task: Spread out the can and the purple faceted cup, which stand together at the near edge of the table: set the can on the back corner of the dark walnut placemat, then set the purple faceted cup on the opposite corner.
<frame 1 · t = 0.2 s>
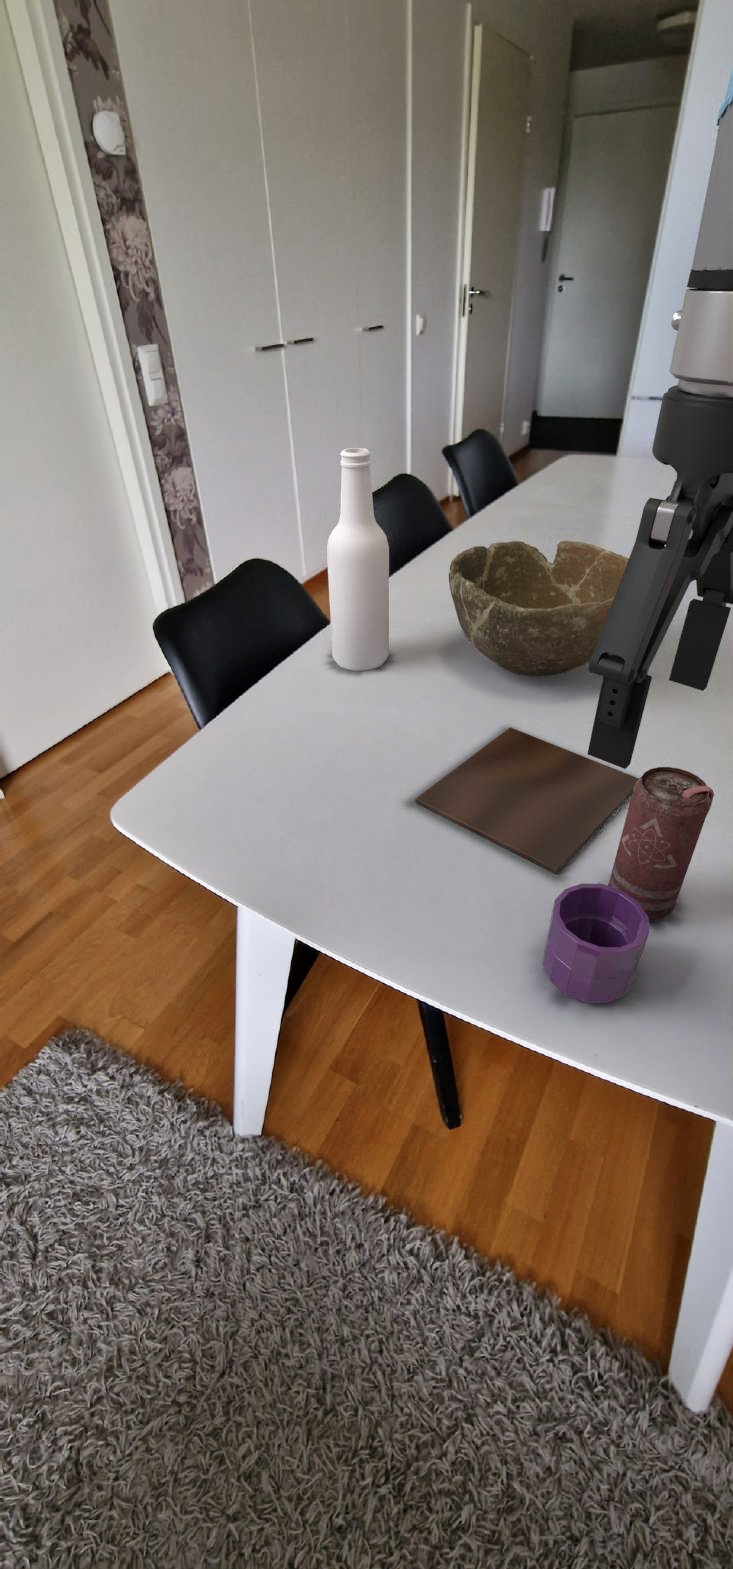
hand: (651, 719, 51), 23 cm above the table, tool pointing down, fingers open, 13 cm apart
can: (640, 902, 68), on the table
alcohol: (360, 660, 110), on the table
purple faceted cup: (586, 971, 61), on the table
bowl: (531, 663, 108), on the table
placemat: (529, 793, 81), on the table
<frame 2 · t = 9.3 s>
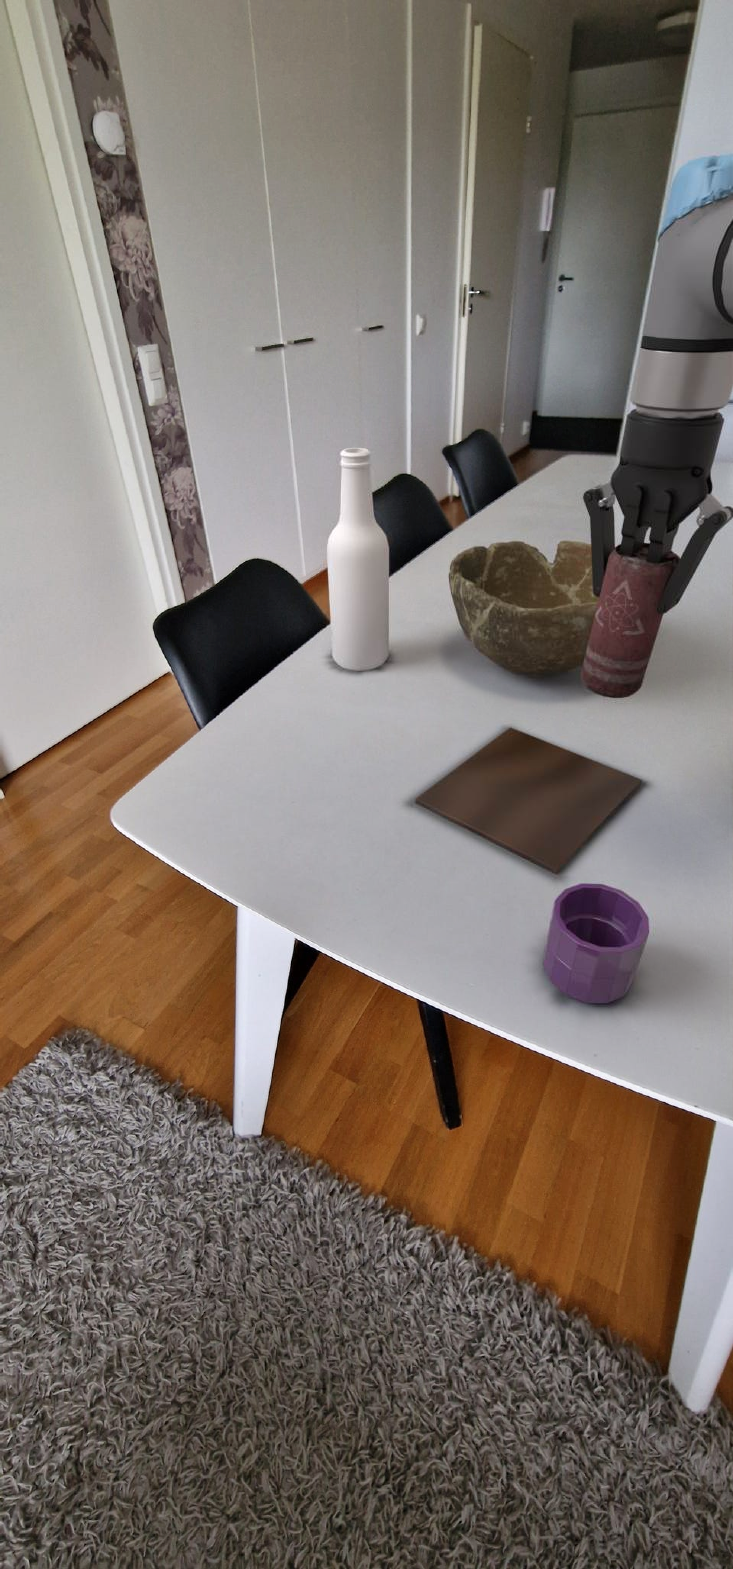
hand: (618, 669, 71), 16 cm above the table, tool pointing down, fingers closed
can: (610, 685, 73), point 14 cm above the table, touching hand
everything else where it was.
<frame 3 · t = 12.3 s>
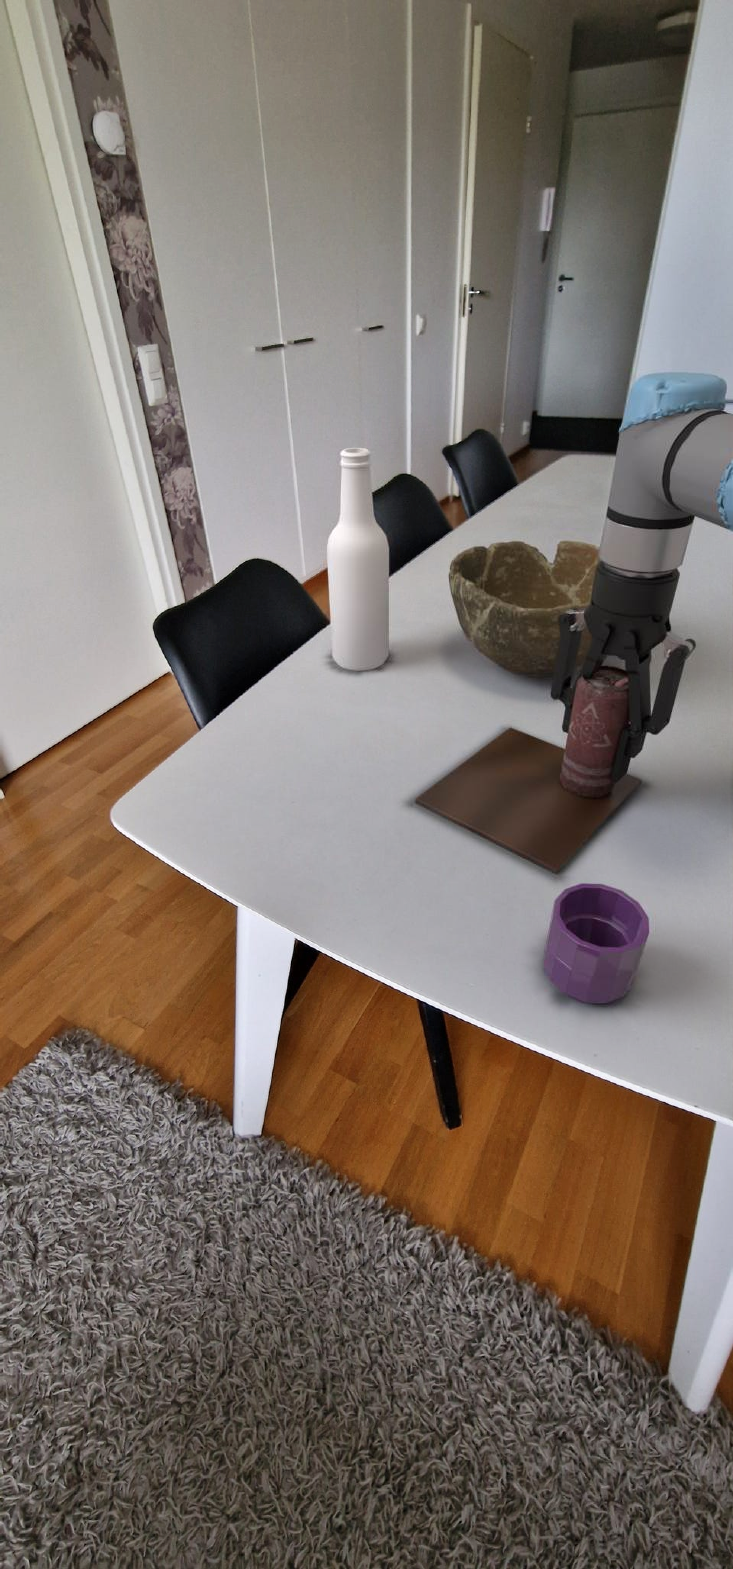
hand: (594, 766, 80), 3 cm above the table, tool pointing down, fingers open, 5 cm apart
can: (587, 785, 82), resting on placemat
everything else where it was.
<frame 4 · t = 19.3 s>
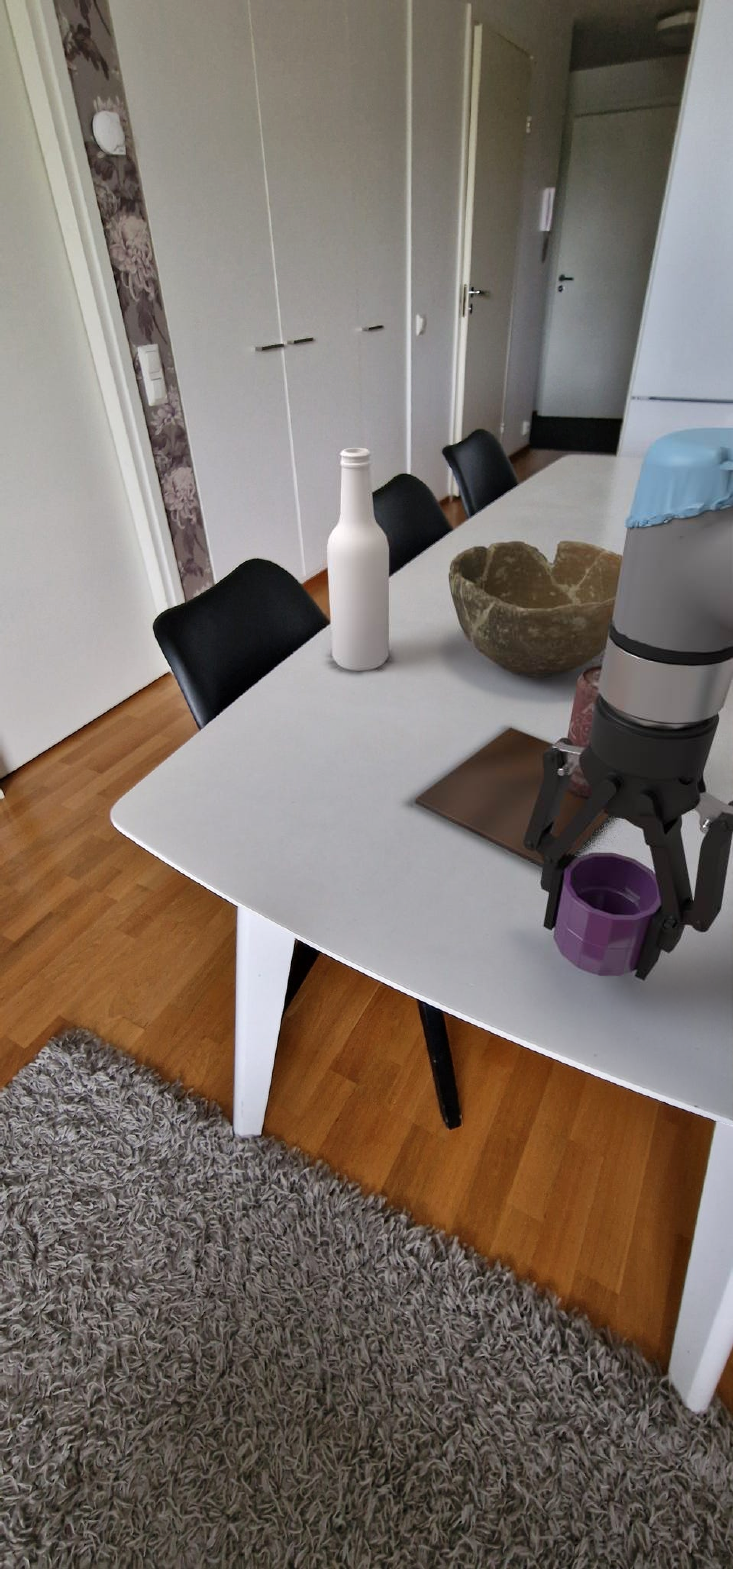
hand: (599, 942, 58), 4 cm above the table, tool pointing down, fingers closed on purple faceted cup, 7 cm apart
purple faceted cup: (598, 945, 58), point 4 cm above the table, touching gripper
everything else where it was.
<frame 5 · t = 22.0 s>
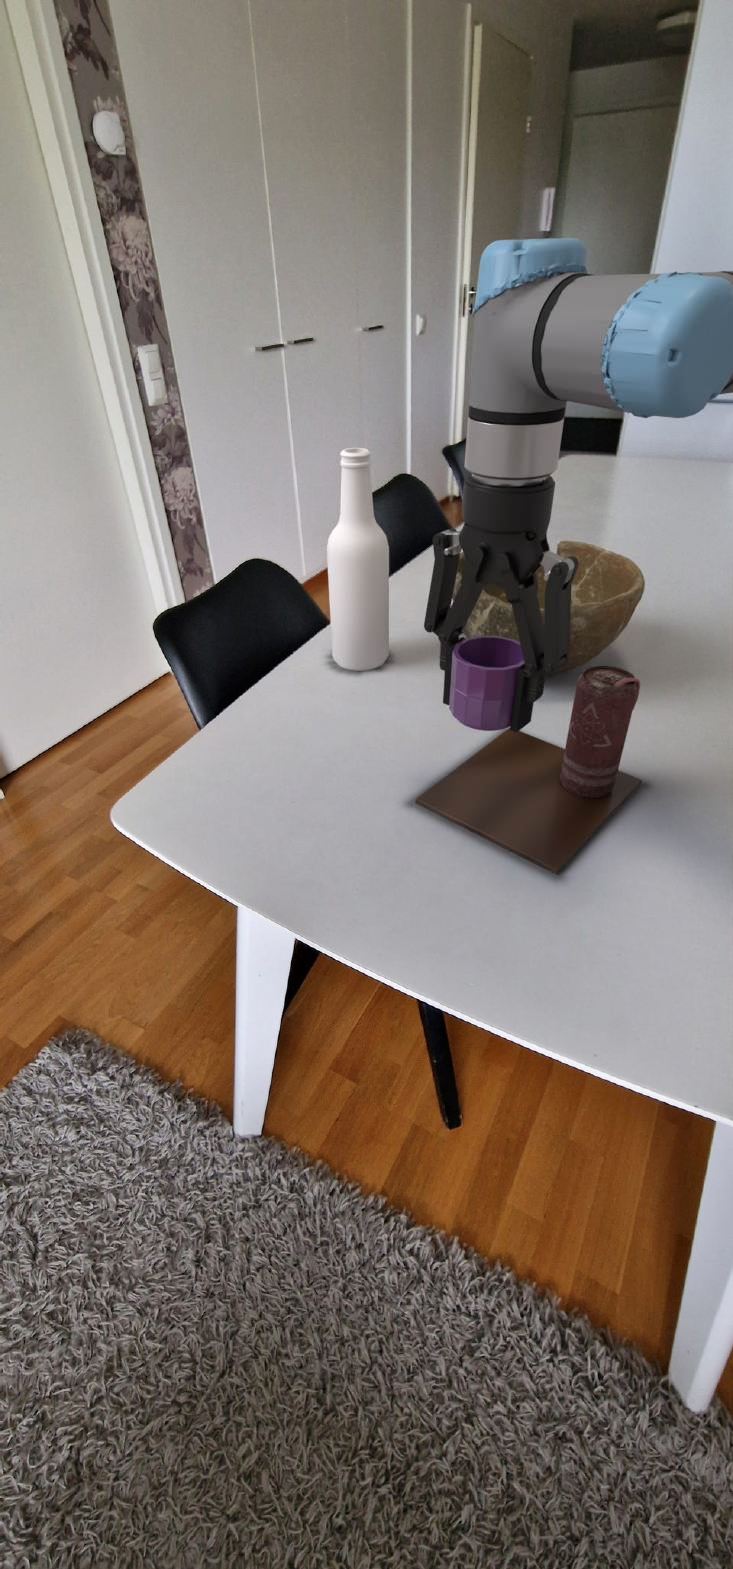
hand: (485, 711, 72), 13 cm above the table, tool pointing down, fingers closed on purple faceted cup, 7 cm apart
purple faceted cup: (485, 714, 72), point 12 cm above the table, touching gripper
everything else where it was.
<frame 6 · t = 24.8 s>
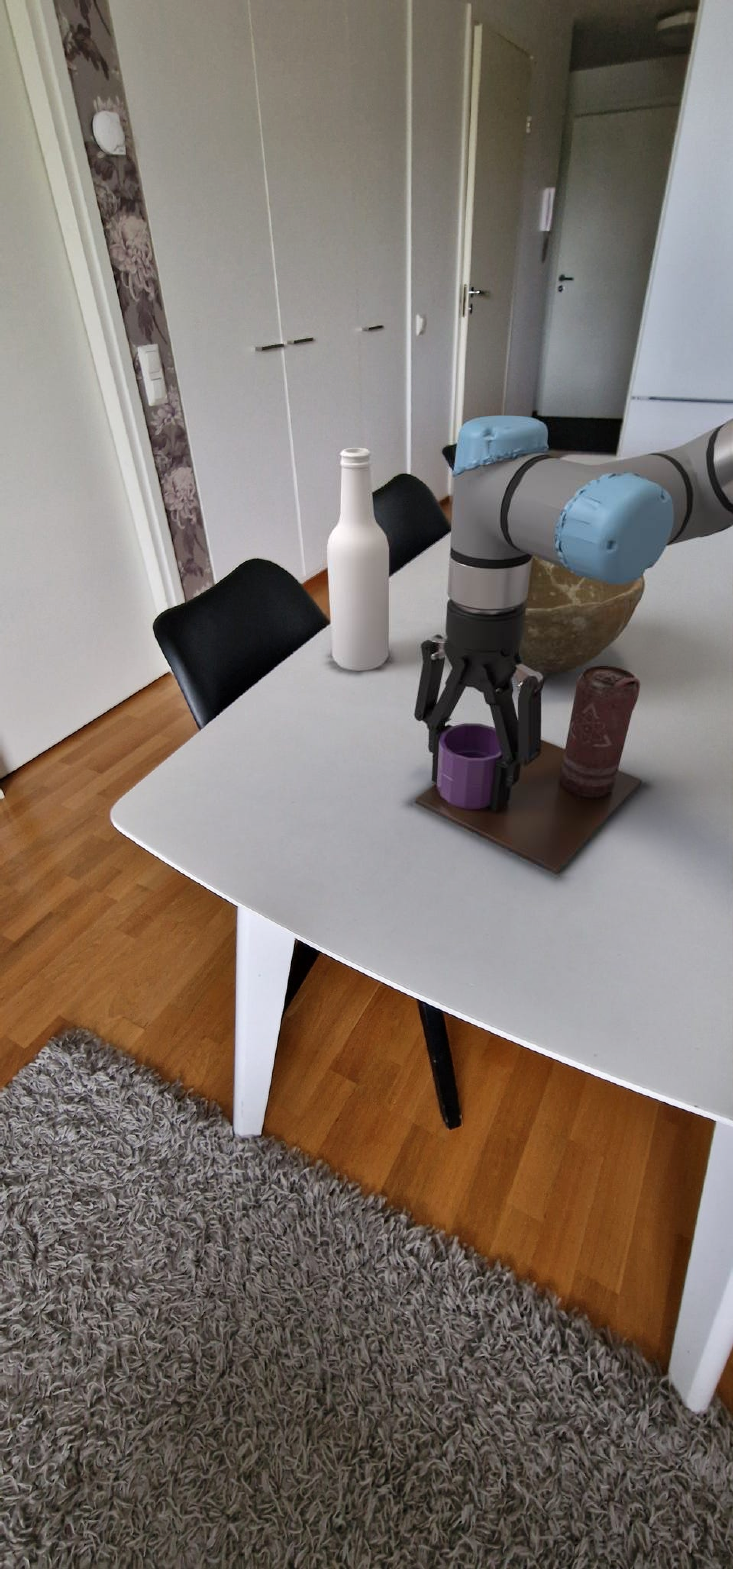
hand: (469, 790, 81), 1 cm above the table, tool pointing down, fingers closed on purple faceted cup, 7 cm apart
purple faceted cup: (469, 792, 81), point 1 cm above the table, touching gripper
everything else where it was.
when the fingers open (1 cm above the table, at t = 25.0 s): purple faceted cup stays where it is, resting on placemat.
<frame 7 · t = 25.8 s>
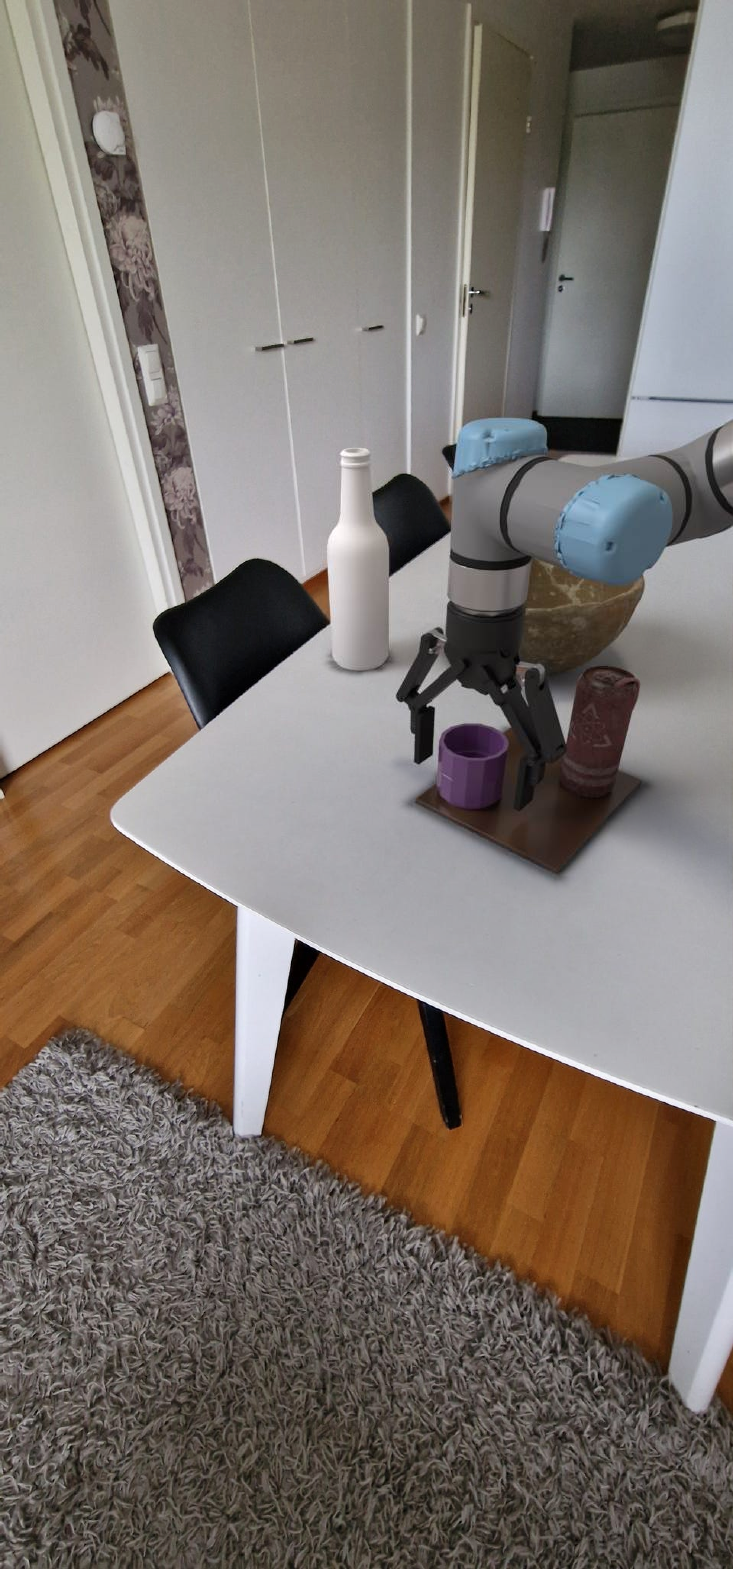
hand: (470, 780, 80), 2 cm above the table, tool pointing down, fingers open, 13 cm apart
purple faceted cup: (469, 792, 81), point 1 cm above the table, touching placemat
everything else where it was.
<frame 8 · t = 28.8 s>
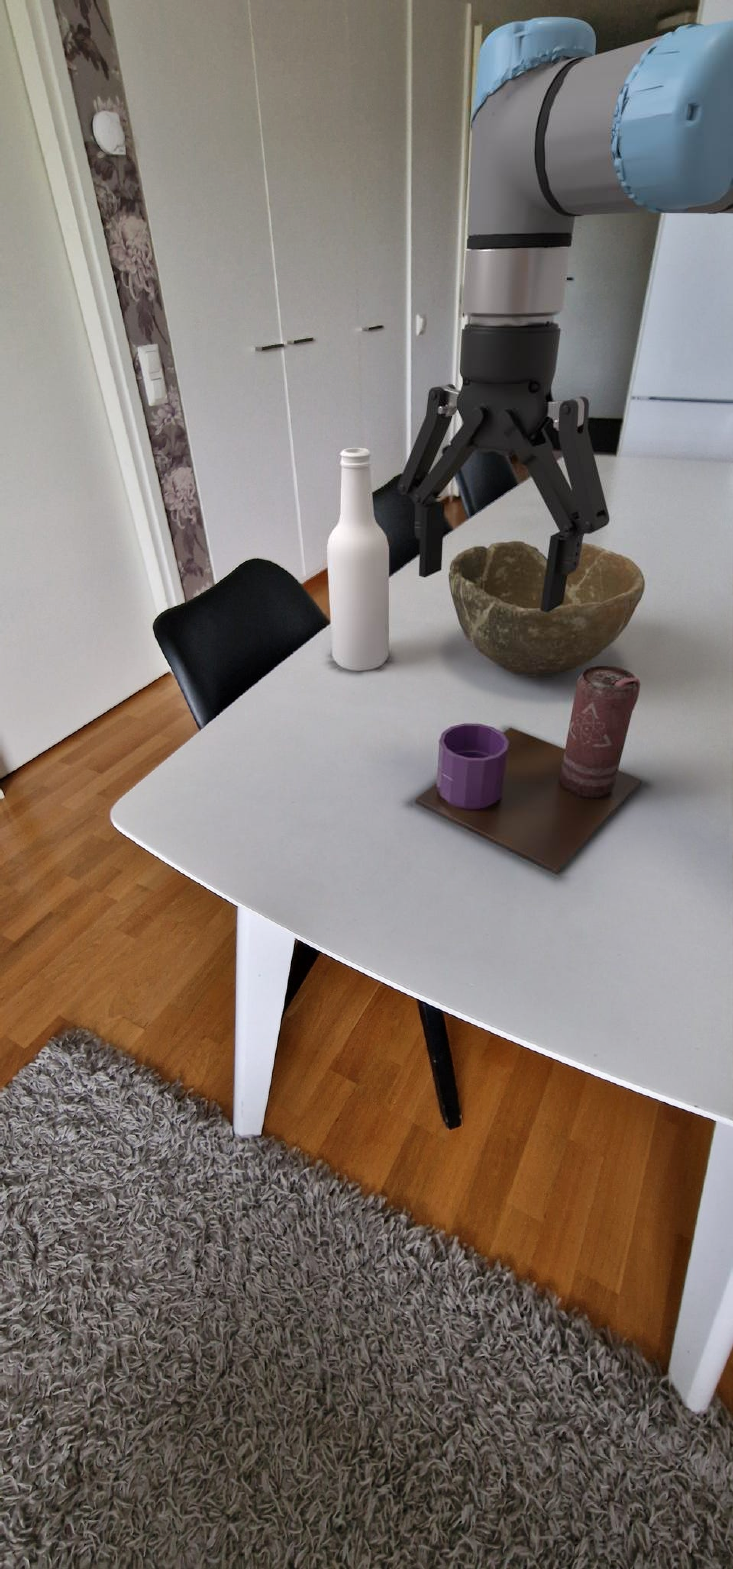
hand: (487, 589, 66), 25 cm above the table, tool pointing down, fingers open, 13 cm apart
nothing on the table moved.
at the end: can inside the target area on the placemat (0.5 cm from its centre), point 0.4 cm above the placemat's base; purple faceted cup inside the target area on the placemat (0.2 cm from its centre), point 0.6 cm above the placemat's base; can tilted 0° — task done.
